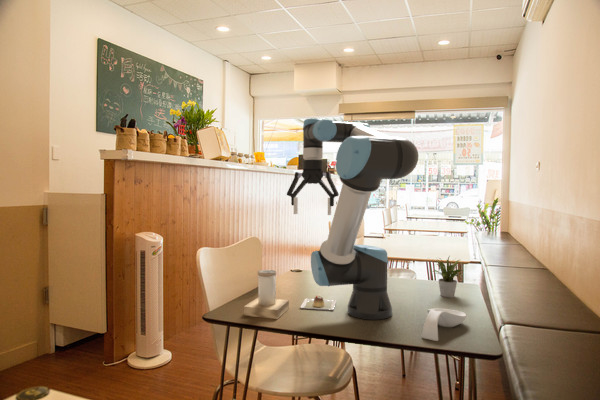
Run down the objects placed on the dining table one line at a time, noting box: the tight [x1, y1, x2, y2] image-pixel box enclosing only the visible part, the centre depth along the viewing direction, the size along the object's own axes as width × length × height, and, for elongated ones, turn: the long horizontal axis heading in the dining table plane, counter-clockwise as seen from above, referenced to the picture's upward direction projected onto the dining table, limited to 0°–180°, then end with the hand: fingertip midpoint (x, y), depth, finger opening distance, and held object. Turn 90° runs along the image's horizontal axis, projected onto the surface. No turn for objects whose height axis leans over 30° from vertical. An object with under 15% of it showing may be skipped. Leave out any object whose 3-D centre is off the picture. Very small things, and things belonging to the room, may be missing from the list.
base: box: [243, 296, 290, 320], centre depth 140 cm, size 12×12×3 cm
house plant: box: [427, 255, 464, 298], centre depth 163 cm, size 14×14×16 cm
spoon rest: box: [421, 307, 467, 342], centre depth 125 cm, size 24×12×7 cm, turn 146°
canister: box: [257, 269, 277, 306], centre depth 140 cm, size 6×6×11 cm
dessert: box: [299, 293, 337, 311], centre depth 149 cm, size 12×12×5 cm
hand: (312, 214), depth 157 cm, fingers open, 13 cm apart
